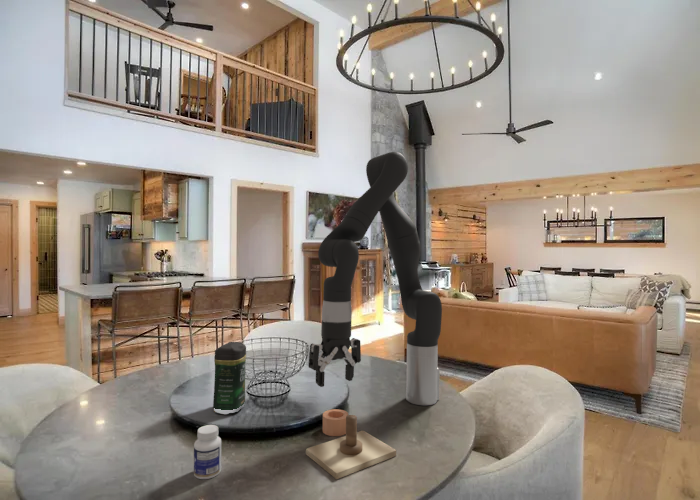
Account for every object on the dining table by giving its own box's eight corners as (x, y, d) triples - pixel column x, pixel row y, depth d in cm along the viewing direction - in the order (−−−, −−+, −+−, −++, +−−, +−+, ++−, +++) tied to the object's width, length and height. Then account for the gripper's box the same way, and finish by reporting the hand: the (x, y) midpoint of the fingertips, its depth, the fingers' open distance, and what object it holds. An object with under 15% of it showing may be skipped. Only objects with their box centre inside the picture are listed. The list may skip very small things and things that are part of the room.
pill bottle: (198, 466, 84) (198, 423, 84) (223, 465, 84) (224, 422, 84) (190, 480, 79) (190, 435, 79) (217, 479, 79) (218, 434, 79)
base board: (362, 435, 99) (362, 430, 99) (396, 455, 89) (396, 450, 89) (305, 454, 89) (306, 448, 89) (336, 479, 80) (336, 473, 80)
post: (353, 442, 93) (353, 410, 93) (366, 450, 89) (367, 418, 89) (335, 448, 90) (335, 415, 90) (348, 457, 86) (349, 423, 86)
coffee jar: (237, 416, 109) (238, 348, 109) (209, 415, 109) (210, 347, 109) (249, 403, 118) (249, 340, 118) (222, 402, 119) (223, 339, 119)
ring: (338, 422, 106) (338, 407, 106) (353, 431, 101) (353, 415, 101) (317, 428, 102) (318, 413, 102) (331, 438, 97) (332, 422, 97)
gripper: (350, 314, 109) (349, 374, 109) (304, 318, 100) (302, 383, 100) (368, 318, 103) (366, 382, 102) (320, 323, 94) (318, 392, 94)
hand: (334, 382), depth 101 cm, fingers open, 8 cm apart
